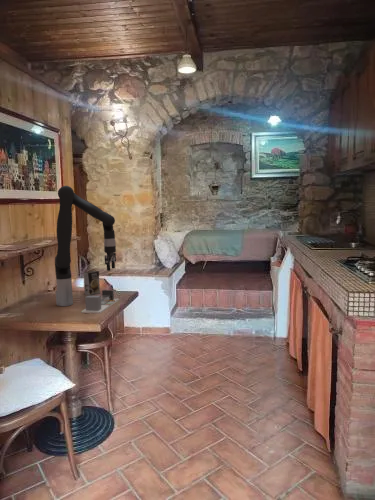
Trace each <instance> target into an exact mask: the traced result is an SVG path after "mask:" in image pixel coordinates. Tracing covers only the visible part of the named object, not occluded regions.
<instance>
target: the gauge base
mask: <svg viewBox="0 0 375 500" xmlns="http://www.w3.org/2000/svg"><path fill="white" fill-rule="evenodd" d="M101 297H102V295H86V296H85V297H84V301H85V308H84V309H82V310H81V311H80V312H81V314H102V313H103V312H105V311H106V310H107V309H109V308H110V307H112V306H113V305H114V304H116V303H117V302H119V301H120V299H119V298H114V299H113V300H115V301H108V302H107V303H105V304H101Z"/></svg>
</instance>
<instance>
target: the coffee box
mask: <svg viewBox="0 0 375 500" xmlns="http://www.w3.org/2000/svg"><path fill="white" fill-rule="evenodd" d="M83 283H84V284H83V287H84V295H86V296H95V295H97V294H100V293H101V289H100V288H101V287H100V286H101V285H100V271H98V270H89V271H84V272H83Z"/></svg>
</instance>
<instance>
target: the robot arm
mask: <svg viewBox="0 0 375 500" xmlns="http://www.w3.org/2000/svg"><path fill="white" fill-rule="evenodd" d="M57 196H58V200H59V210H58V214H57V220H56V241H57V250H56V255H55V257H54V268H55V281H56V283H55V284H56V290H55V300H56V301H55V302H56V306H58V307H68V306H72V305H73V304H74V299H73V297H74V296H73V283H72V271H71V263H72V260H71V259H72V258H71V243H72V233H73V206H75V207H77V208H78V209H80V210H82V211H83V212H84V213H86V214H87V215H89V216H91V217H93V218H94V219H95V220H98V221H100V222H101V223H102V229H103V251H104V252H103V253H105V254H106V255H104V265H106V271H107V272H109V271H111V269H116V262H117V253H116V252H117V250H116V248H117V247H116V234H115V233H116V232H115V229H114V225H115V223H116V220H115V217H114V216H113V215H112V214H110V213H108V212H107V211H103V210H102V209H101V208H100V207H98V206H96V205H95V204H93V203H92V202H89V201H88V200H85V199H84V198H82V197H81V196H79V195H77V194H76V193H75V191H74V189H73V188H72V187H71V186H69V185H63V186H60V188H59V189H58V191H57Z"/></svg>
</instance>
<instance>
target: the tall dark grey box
mask: <svg viewBox="0 0 375 500" xmlns="http://www.w3.org/2000/svg"><path fill="white" fill-rule="evenodd" d="M114 293H115V292H114V289H103V290H101V304H105V303H107V302H108V301H115V300H113V299H115V297H114V295H115V294H114Z"/></svg>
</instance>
